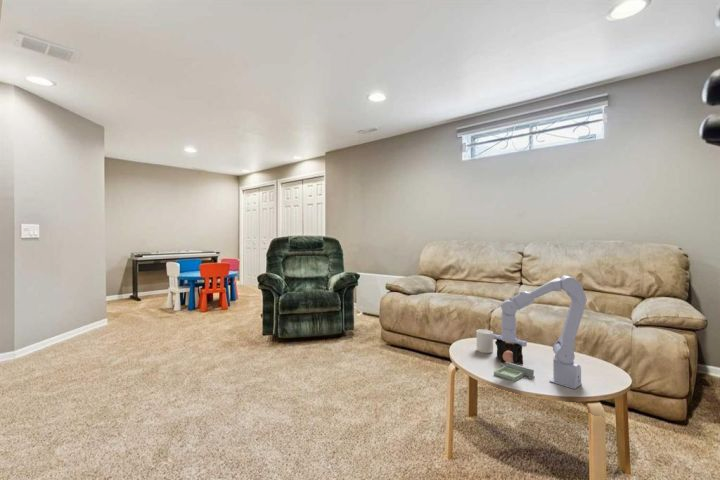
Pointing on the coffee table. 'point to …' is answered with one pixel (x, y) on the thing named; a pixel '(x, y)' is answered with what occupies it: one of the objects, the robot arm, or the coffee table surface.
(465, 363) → the coffee table surface
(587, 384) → the coffee table surface
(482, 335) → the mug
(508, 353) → the ball
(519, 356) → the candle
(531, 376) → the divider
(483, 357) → the coffee table surface
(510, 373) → the tray
